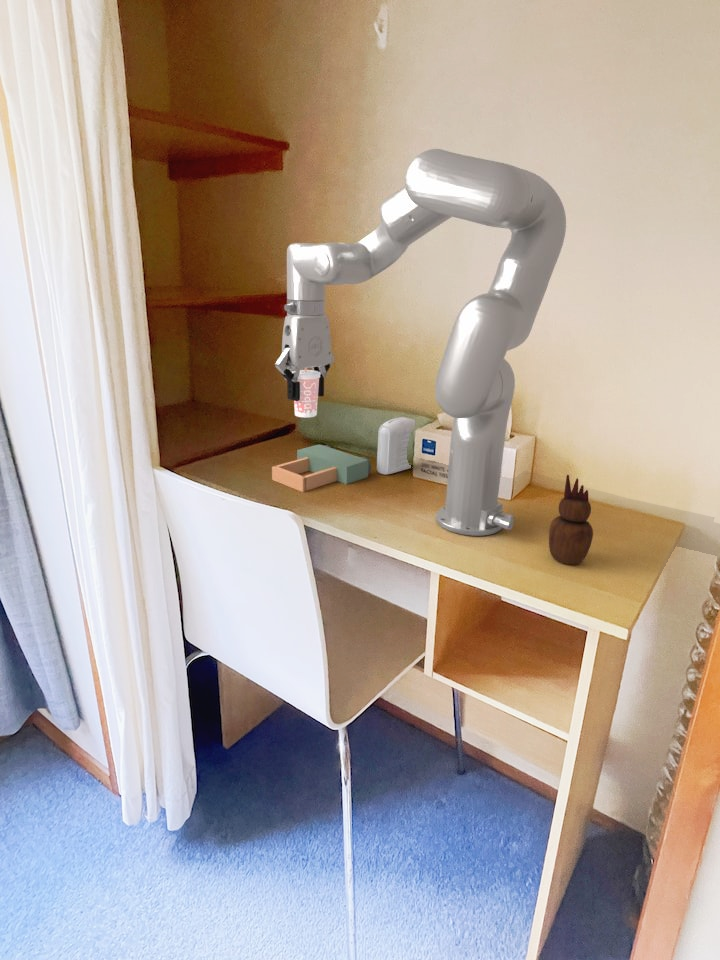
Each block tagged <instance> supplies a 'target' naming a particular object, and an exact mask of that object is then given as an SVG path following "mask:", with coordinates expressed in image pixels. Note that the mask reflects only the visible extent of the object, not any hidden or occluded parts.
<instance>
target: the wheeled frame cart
mask: <svg viewBox="0 0 720 960" xmlns="http://www.w3.org/2000/svg"><path fill="white" fill-rule="evenodd" d="M296 451H297V452H296V454H297V455H296V458H297V459H295V460H292V461H288V462H284V463H280V464H277V465H274V466H271V480H272V481H274V482H276V483H280V484H281V485H283V486H287V487H289V488H292V489H294V490H296V491H299V492H302V493H304V492H307V491H310V490H313V489H316V488H320V487H322V486H326V485H328V484H332V483H334V482H338V483H342V484H344V485H348V484H352V483H354V482H357V481H361V480H363V479H366V478H368V477H369V473H371V471H372V462H371V460H370V459H369V458H368V457H366V456H361V457H360V456H357V455H354V454H351V453H348V452H345V451H342V450H339V449H335V448H334V447H333V448H332V447H331V446H330V445H329V444H326V445H325V444H324V445H323V444H321V443H320V444H315V445H311V446H308V447H304V448H301V449H297V450H296ZM306 472H311V473H309V474H306V475H301V474H303V473H306Z"/></svg>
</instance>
